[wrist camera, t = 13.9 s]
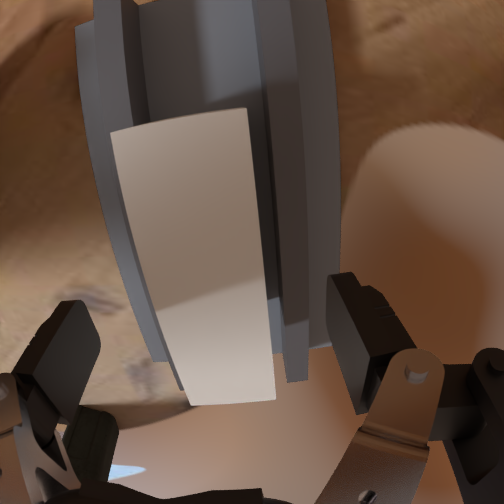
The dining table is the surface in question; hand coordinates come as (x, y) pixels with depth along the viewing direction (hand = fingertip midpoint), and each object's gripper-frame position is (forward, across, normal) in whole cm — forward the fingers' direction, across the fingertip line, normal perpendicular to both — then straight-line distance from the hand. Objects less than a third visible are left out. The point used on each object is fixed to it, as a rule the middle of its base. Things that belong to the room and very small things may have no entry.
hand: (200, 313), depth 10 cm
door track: (+10, 0, -1) cm, 10 cm away
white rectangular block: (+9, 0, 0) cm, 9 cm away
